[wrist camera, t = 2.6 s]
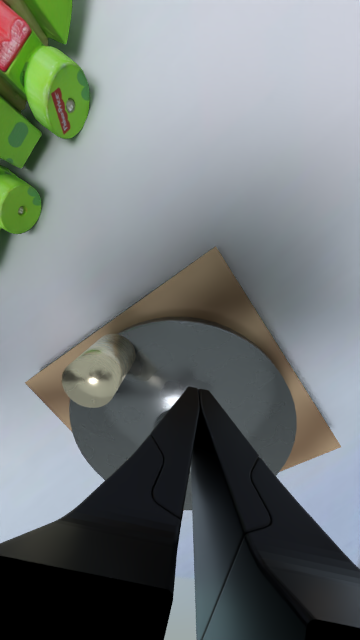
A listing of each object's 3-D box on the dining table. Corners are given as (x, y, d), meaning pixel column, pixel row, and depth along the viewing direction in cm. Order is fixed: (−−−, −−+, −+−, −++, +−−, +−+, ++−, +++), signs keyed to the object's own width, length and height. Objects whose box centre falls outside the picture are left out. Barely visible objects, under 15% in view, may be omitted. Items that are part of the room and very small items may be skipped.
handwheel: (33, 383, 19) (-31, 433, 13) (207, 261, 15) (213, 264, 9) (158, 515, 22) (146, 595, 17) (326, 446, 18) (379, 523, 13)
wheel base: (40, 371, 21) (23, 384, 19) (213, 247, 17) (216, 246, 14) (160, 500, 25) (156, 523, 23) (327, 428, 20) (342, 448, 18)
